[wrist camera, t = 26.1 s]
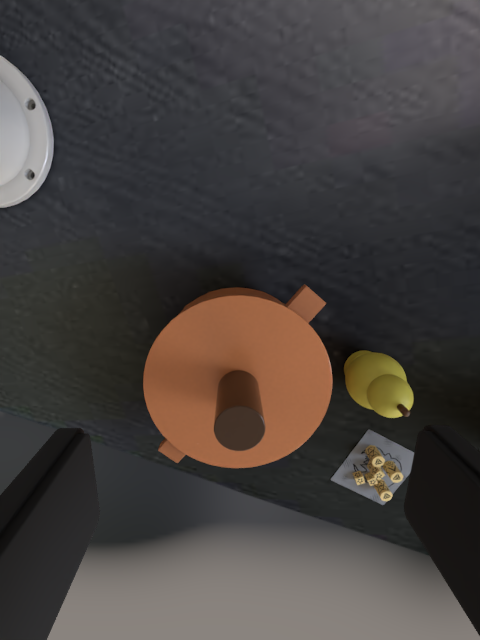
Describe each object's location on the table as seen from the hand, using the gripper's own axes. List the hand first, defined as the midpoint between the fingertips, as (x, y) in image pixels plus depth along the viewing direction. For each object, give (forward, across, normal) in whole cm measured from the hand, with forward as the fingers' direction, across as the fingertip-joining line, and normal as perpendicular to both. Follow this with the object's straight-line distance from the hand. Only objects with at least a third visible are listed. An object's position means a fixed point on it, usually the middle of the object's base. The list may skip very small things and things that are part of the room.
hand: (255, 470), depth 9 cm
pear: (+24, -14, +8) cm, 29 cm away
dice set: (+24, -17, +21) cm, 36 cm away
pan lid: (+18, 0, +7) cm, 19 cm away
